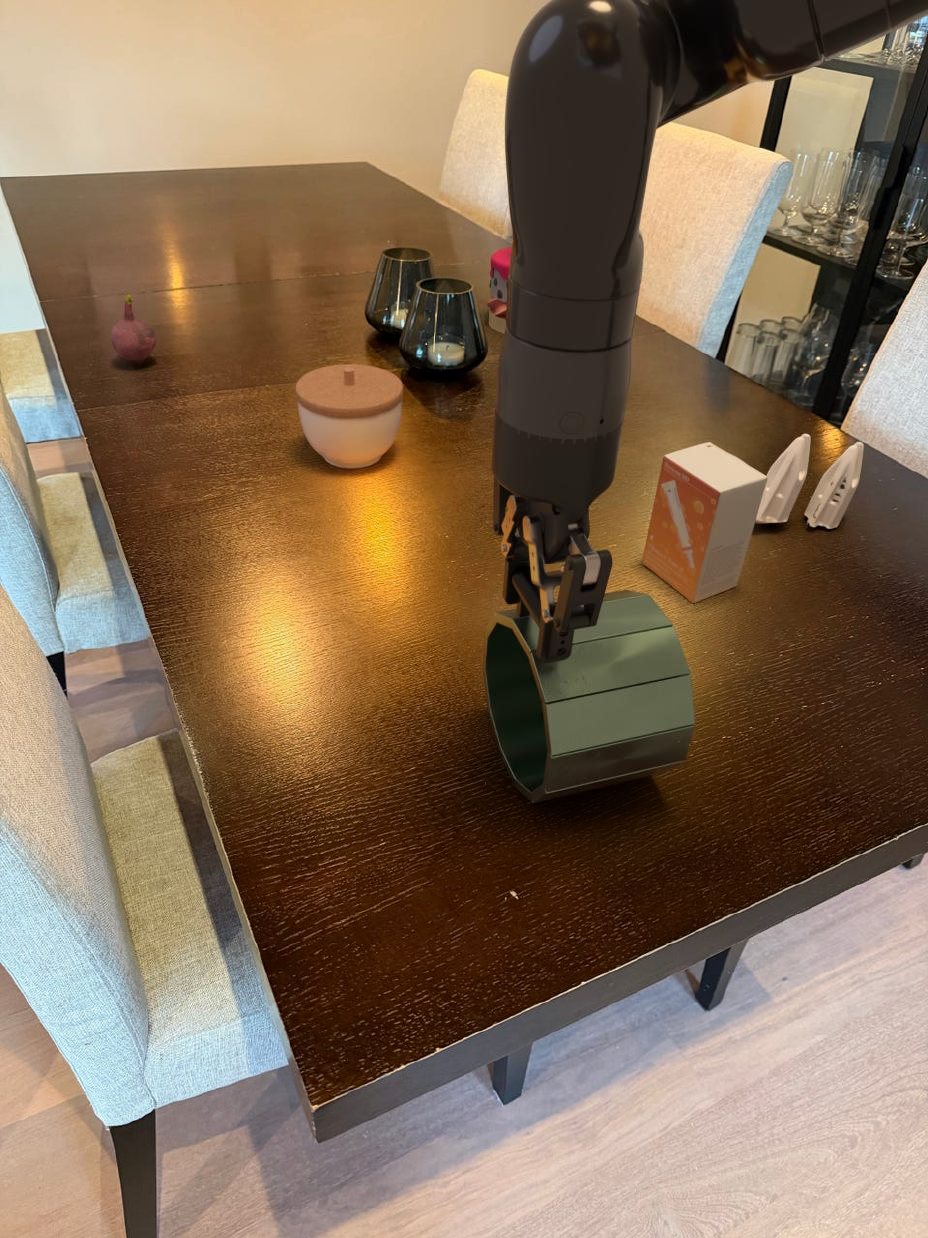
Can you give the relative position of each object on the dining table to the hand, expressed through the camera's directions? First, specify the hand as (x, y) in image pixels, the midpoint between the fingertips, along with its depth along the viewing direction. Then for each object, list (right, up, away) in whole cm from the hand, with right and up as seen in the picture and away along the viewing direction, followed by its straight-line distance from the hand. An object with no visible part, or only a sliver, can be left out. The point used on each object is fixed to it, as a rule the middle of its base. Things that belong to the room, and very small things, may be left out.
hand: (534, 627), depth 62 cm
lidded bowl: (-19, +21, +48) cm, 56 cm away
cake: (+4, +49, +85) cm, 98 cm away
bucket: (+4, -11, +10) cm, 15 cm away
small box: (+18, +5, +31) cm, 36 cm away
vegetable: (-52, +37, +67) cm, 93 cm away
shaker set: (+33, +11, +40) cm, 53 cm away
